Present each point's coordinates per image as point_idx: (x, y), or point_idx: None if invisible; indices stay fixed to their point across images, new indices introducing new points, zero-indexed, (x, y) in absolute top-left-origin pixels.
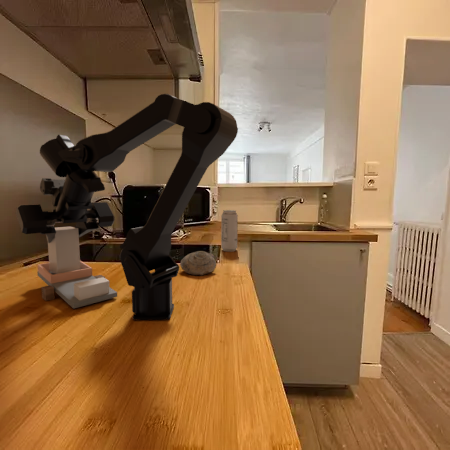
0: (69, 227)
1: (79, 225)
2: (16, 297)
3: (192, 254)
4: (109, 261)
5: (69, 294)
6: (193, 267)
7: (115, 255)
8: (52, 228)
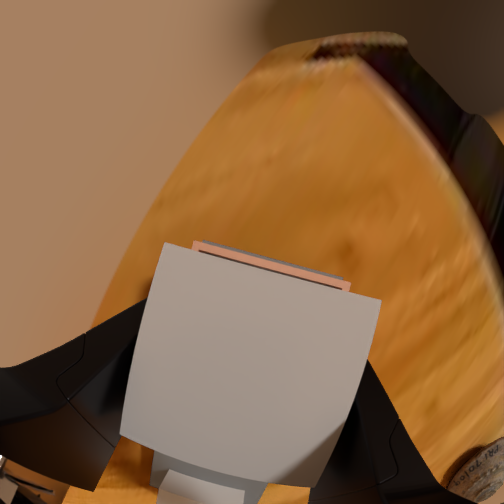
0: (322, 385)
1: (339, 492)
2: (130, 291)
3: (495, 474)
4: (471, 204)
5: (165, 458)
6: (458, 492)
7: (494, 171)
8: (66, 485)
